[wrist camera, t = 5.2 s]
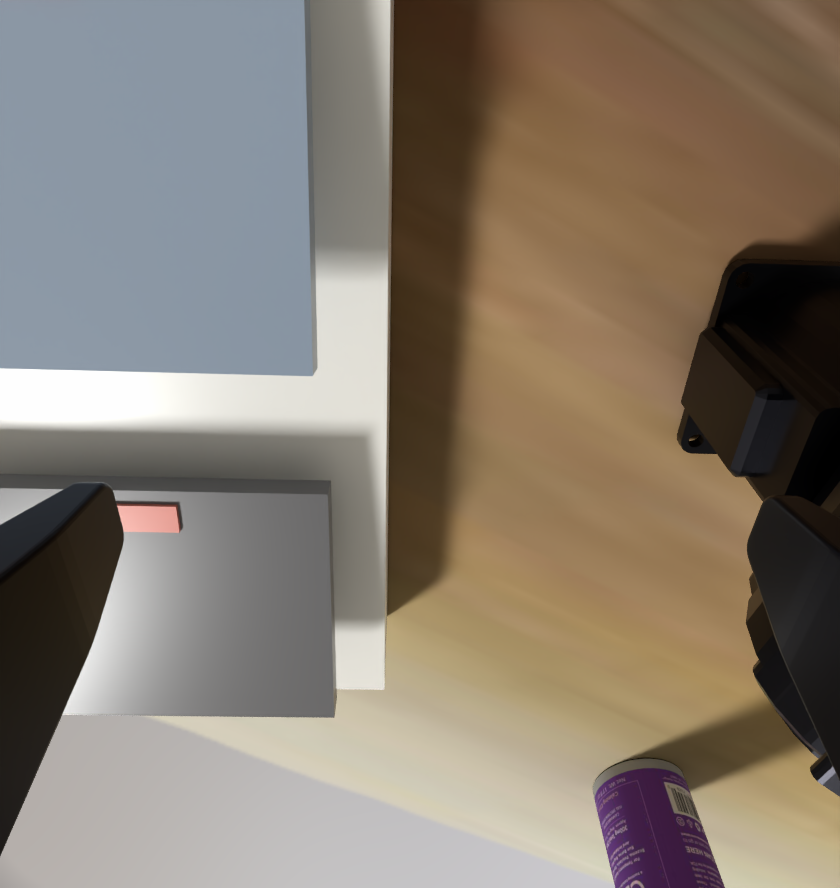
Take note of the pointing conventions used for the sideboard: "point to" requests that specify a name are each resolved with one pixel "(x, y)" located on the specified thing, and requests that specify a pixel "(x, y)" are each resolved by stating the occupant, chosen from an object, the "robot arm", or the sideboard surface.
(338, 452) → the white long base
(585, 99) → the sideboard surface
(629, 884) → the container
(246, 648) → the rocker charcoal
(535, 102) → the sideboard surface
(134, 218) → the plate
